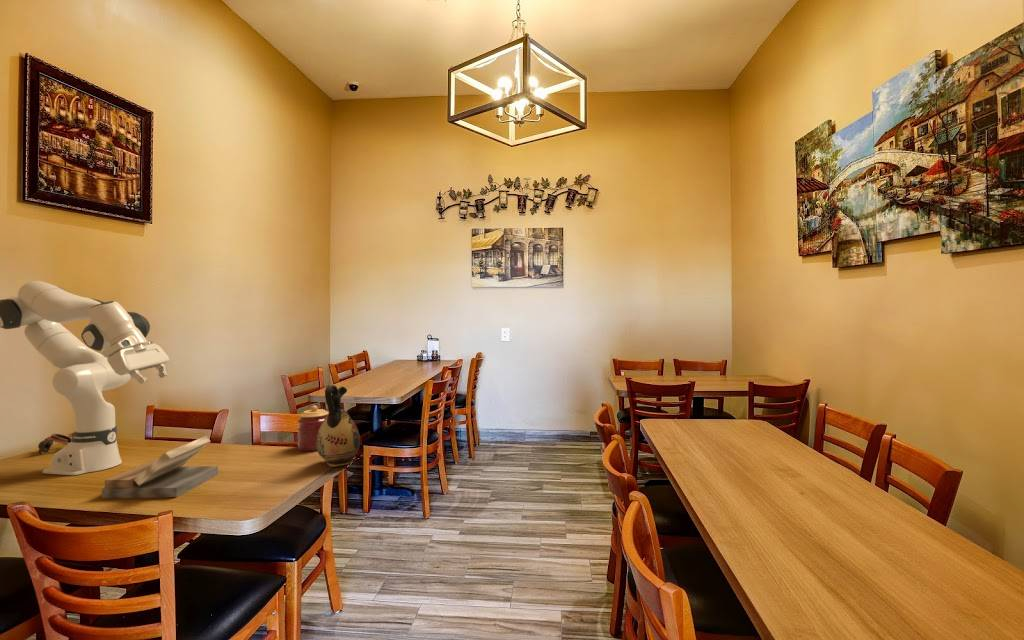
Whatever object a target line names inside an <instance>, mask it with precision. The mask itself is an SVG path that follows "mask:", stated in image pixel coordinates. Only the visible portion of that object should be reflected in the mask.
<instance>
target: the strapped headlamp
mask: <svg viewBox="0 0 1024 640" xmlns="http://www.w3.org/2000/svg"><path fill="white" fill-rule="evenodd" d="M71 439H72V437H68V436H67V435H64V434H60V433H59V434H58V433H52V434H51V435H50V436H48V437H46V438H44V439H43V440H42V441H40V442H39V443H38V446H37V447H38V451H37V453H38V454H39V455H42V454H43V453H45V454H46V453H49V451H50V448H51V447H52V445H53V444H54V442H55V443H59V444H63V445H65V446H66V445H67V444H69V443H70V442H71Z"/></svg>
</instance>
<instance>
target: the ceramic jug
mask: <svg viewBox="0 0 1024 640" xmlns="http://www.w3.org/2000/svg"><path fill="white" fill-rule="evenodd" d="M347 392H348V390H347V388H346V386H340V387H339V388H338V387H337V385H336V384H335V385H334V384H329V385H327V386H326V387H325V389H324V399H325V403H326V405H327V409H328V412H329V413H328V415H327V416H326V418H325V420H324V421H323V423H322V425H321V427H320V429H319V432H318V435H317V441H316V446H317V453H318V455H319V456H320V457H321V458H322V459H323V460H324V461H325V463H326V465H327V466H328V467H331V468H335V467H340V466H341V467H342V466H346V465H350V464H352V463H354V457H356V455H357V453H358V451H359V449H360V446H361V436H360V432H359V429H358V426H357V425H356V423H355V422H354V420H353V419H352V417H351V416H350V415H349V413H348V412H347V411H346V410H344V408H343V406H342V404H341V400H342V397H343V396H344V395H345V394H346V393H347Z"/></svg>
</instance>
